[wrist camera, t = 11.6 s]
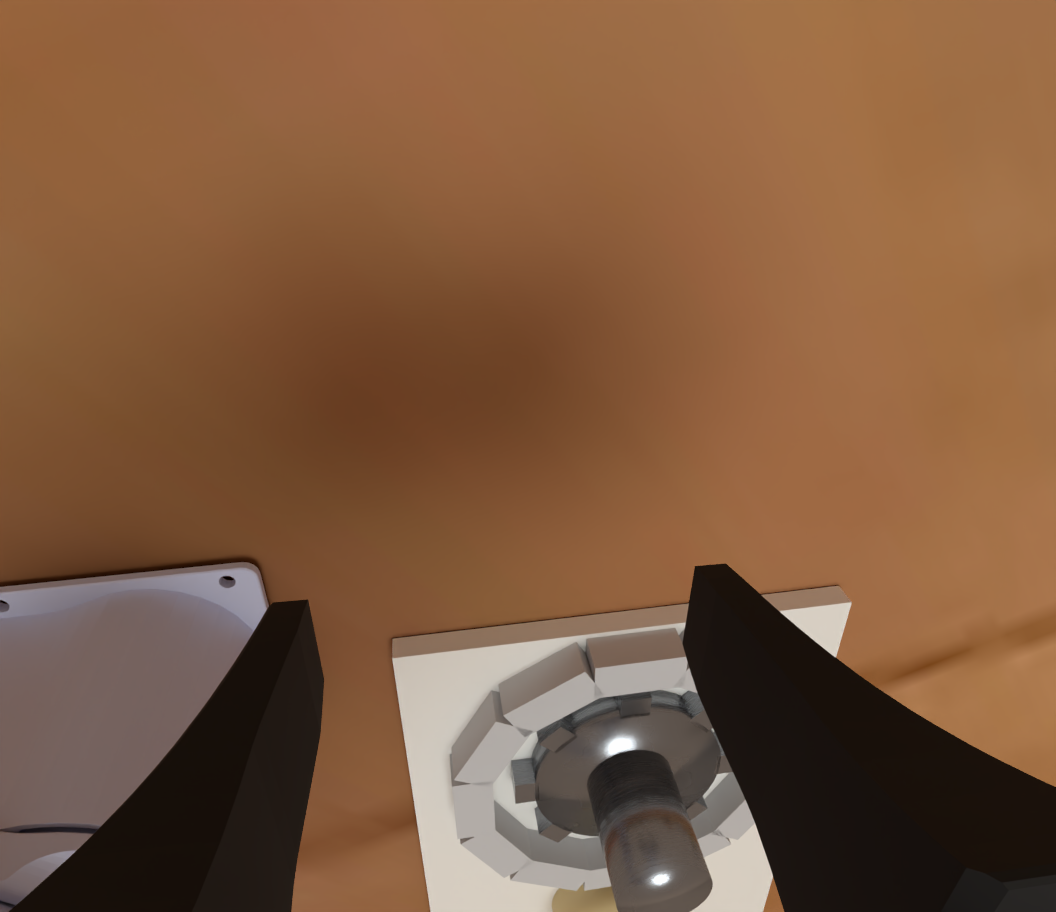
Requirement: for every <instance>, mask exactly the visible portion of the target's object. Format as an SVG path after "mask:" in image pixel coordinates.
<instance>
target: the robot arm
mask: <svg viewBox="0 0 1056 912" xmlns="http://www.w3.org/2000/svg"><path fill="white" fill-rule="evenodd" d="M223 576H230V577H232V578H234V579H235V580H226V579H224V578H223ZM0 600H3V601H5V602H7V603H8V604H4V603H1V602H0V912H291V907H292V896H293V886H294V878H295V871H296V865H297V858H298V852H299V847H300V841H301V836H302V831H303V825H304V820H305V815H306V809H307V804H308V799H309V793H310V788H311V783H312V777H313V772H314V766H315V761H316V755H317V750H318V744H319V738H320V732H321V718H322V704H323V687H324V677H323V672H322V667H321V662H320V657H319V652H318V647H317V642H316V637H315V632H314V627H313V622H312V617H311V612H310V607H309V602H308V600H298V601H287V602H275V603H272V604H271V605H270V606H269V605H268V601H267V597H266V593H265V589H264V585H263V581H262V578H261V574H260V571H259V569H258V568H257V567H256V566H255V565H254V564H251V563H248V562H237V563H228V564H218V565H208V566H199V567H189V568H179V569H170V570H160V571H150V572H141V573H131V574H121V575H111V576H102V577H92V578H82V579H73V580H63V581H53V582H44V583H34V584H24V585H15V586H5V587H0ZM682 644H683V648H684V651H685V655H686V658H687V662H688V665H689V668H690V672H691V675H692V678H693V681H694V684H695V687H696V690H697V693H698V695H699V698H700V700H701V702H702V705H703V707H704V709H705V711H706V714H707V716H708V718H709V720H710V723H711V725H712V727H713V729H714V732H715V734H716V736H717V738H718V740H719V743H720V745H721V747H722V749H723V751H724V754H725V756H726V758H727V760H728V762H729V765H730V767H731V769H732V771H733V773H734V776H735V778H736V780H737V782H738V784H739V787H740V789H741V791H742V793H743V795H744V798H745V800H746V802H747V805H748V807H749V810H750V812H751V815H752V817H753V819H754V822H755V825H756V827H757V830H758V833H759V836H760V839H761V842H762V845H763V848H764V851H765V854H766V857H767V860H768V862H769V865H770V868H771V871H772V874H773V877H774V880H775V883H776V887H777V890H778V893H779V896H780V899H781V902H782V905H783V909H784V912H1056V787H1054V786H1052V785H1050V784H1047V783H1045V782H1043V781H1041V780H1039V779H1037V778H1035V777H1033V776H1031V775H1029V774H1026V773H1024V772H1022V771H1020V770H1018V769H1016V768H1014V767H1012V766H1010V765H1008V764H1006V763H1004V762H1002V761H1000V760H998V759H996V758H994V757H992V756H990V755H988V754H986V753H985V752H983V751H981V750H979V749H977V748H975V747H973V746H971V745H969V744H968V743H966V742H964V741H962V740H961V739H959V738H957V737H955V736H954V735H952V734H950V733H948V732H947V731H945V730H943V729H941V728H940V727H938V726H936V725H934V724H933V723H931V722H929V721H928V720H926V719H924V718H923V717H921V716H919V715H918V714H916V713H914V712H913V711H911V710H910V709H908V708H907V707H905V706H904V705H902V704H901V703H899V702H898V701H896V700H895V699H893V698H891V697H890V696H888V695H887V694H885V693H884V692H882V691H881V690H879V689H878V688H876V687H875V686H873V685H872V684H871V683H869V682H868V681H866V680H865V679H864V678H862V677H861V676H859V675H858V674H857V673H855V672H854V671H853V670H851V669H850V668H849V667H847V666H846V665H845V664H843V663H842V662H841V661H839V660H838V659H837V658H835V657H834V656H833V655H832V654H830V653H829V652H828V651H826V650H825V649H824V648H823V647H821V646H820V645H819V644H818V643H816V642H815V641H814V640H813V639H811V638H810V637H809V636H808V635H807V634H805V633H804V632H803V631H802V630H801V629H799V628H798V627H797V626H796V625H795V624H794V623H792V622H791V621H790V620H789V619H788V618H787V617H785V616H784V615H783V614H782V613H781V612H780V611H778V610H777V609H776V608H775V607H774V606H773V605H772V604H771V603H769V602H768V601H767V600H766V599H765V598H764V597H763V596H762V595H760V594H759V593H758V592H757V591H756V590H755V589H754V588H753V587H752V586H750V585H749V584H748V583H747V582H746V581H745V580H744V579H743V578H742V577H740V576H739V575H738V574H737V573H736V572H735V571H734V570H732V569H731V568H730V567H729V566H728V565H727V564H716V565H704V566H695V570H694V576H693V582H692V588H691V594H690V600H689V606H688V612H687V618H686V624H685V630H684V636H683V642H682Z"/></svg>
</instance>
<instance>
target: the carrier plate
mask: <svg viewBox="0 0 1056 912" xmlns="http://www.w3.org/2000/svg"><path fill="white" fill-rule="evenodd" d="M762 596H763V597H764V598H765V599H766V600H767V601H768V602H769V603H771V604H772V605H773V606H774V607H775V608H776V609H777V610H778V611H780V612H781V613H782V614H783V615H784V616H785V617H787V618H788V619H789V620H790V621H791V622H792V623H794V624H795V625H796V626H797V627H798V628H799V629H801V630H802V631H803V632H804V633H805V634H807V635H808V636H809V637H810V638H811V639H813V640H814V641H815V642H816V643H818V644H819V645H820V646H821V647H823V648H824V649H825V650H826V651H828V652H829V653H830V654H832V655H833V656H834V657H835V658H836V655H837V652H838V648H839V645H840V641H841V638H842V634H843V631H844V627H845V624H846V620H847V617H848V613H849V610H850V607H851V603H852V602H851V601H850V599H849V598H848V597H847V596H846V594H845V593H844V592H843V591H842V589H841V588H840V587H839V586H831V587H823V588H815V589H806V590H798V591H789V592H781V593H773V594H764V595H762ZM688 606H689V603H688V604H680V605H672V606H663V607H655V608H646V609H638V610H630V611H621V612H613V613H604V614H596V615H588V616H579V617H571V618H562V619H554V620H546V621H537V622H529V623H520V624H512V625H503V626H495V627H487V628H478V629H470V630H461V631H453V632H445V633H436V634H428V635H419V636H411V637H403V638H394V639H392V660H393V667H394V673H395V680H396V687H397V693H398V700H399V706H400V713H401V720H402V726H403V733H404V739H405V746H406V752H407V759H408V766H409V772H410V779H411V785H412V792H413V799H414V805H415V812H416V818H417V825H418V832H419V838H420V845H421V851H422V858H423V864H424V871H425V878H426V884H427V891H428V897H429V904H430V911H431V912H618V910H617V907H616V903H615V899H614V895H613V891H612V887H611V883H610V879H609V875H608V871H607V867H606V863H605V858H604V854H603V850H602V846H601V842H600V838H599V837H598V836H586V835H579V834H575V833H570V834H569V835H568V836H566V837H565V838H564V839H562V840H561V841H560V842H555V841H553V840H551V839H549V838H546V837H544V836H542V835H540V834H539V832H538V826H537V820H536V815H535V808H536V807H537V803H536V801H532V802H525V803H519V804H515V797H514V790H513V784H512V772H511V760H517V759H524V758H531V756H532V753H533V750H534V748H535V746H536V743H537V742H538V737H537V732H536V731H538V730H540V729H542V728H544V727H546V726H548V725H550V724H552V723H553V722H555V721H557V720H559V719H561V718H563V717H565V716H567V715H569V714H570V713H572V712H574V711H576V710H578V709H580V708H582V707H584V706H586V705H587V704H589V703H591V702H593V701H595V700H597V699H599V698H603V697H611V696H618V695H626V694H633V693H641V692H648V691H656V690H664V691H668V692H673V693H676V694H678V695H681V696H682V695H683V694H684V693H686V692H687V691H688V690H689V691H692V692H695V693H697V690H696V687H695V684H694V681H693V678H692V675H691V672H690V668H689V665H688V662H687V658H686V655H685V651H684V648H683V644H682V642H683V636H684V630H685V624H686V618H687V612H688ZM712 731H713V732H714V729H713V728H712ZM703 798H704V800H705V803H706V805H707V809H706V810H705V811H703V812H702V813H700V814H699V815H697V816H696V817H695V818H693V819H692V820H690V821H691V824H692V827H693V830H694V832H695V835H696V838H697V840H698V843H699V846H700V849H701V851H702V854H703V857H704V859H705V862H706V865H707V868H708V870H709V873H710V876H711V878H712V882H713V887H712V890H711V893H710V894H709V896H708V897H707V899H706V900H705V901H704V902H703V903H702V904H700V905H699V906H698V907H696V908H695V909H694V910H692V911H690V912H763V909H764V906H765V902H766V899H767V895H768V892H769V888H770V885H771V881H772V878H773V874H772V871H771V868H770V865H769V862H768V860H767V857H766V854H765V851H764V848H763V845H762V842H761V839H760V836H759V833H758V830H757V827H756V825H755V822H754V819H753V817H752V815H751V812H750V810H749V807H748V805H747V802H746V800H745V798H744V795H743V793H742V791H741V789H740V787H739V784H738V782H737V780H736V778H735V776H734V773H733V772H729V773H722V774H717V776H716V778H715V780H714V782H713V783H712V785H711V786H710V788H709V789H708V790H707V791H706V793H705V794H704V795H703Z"/></svg>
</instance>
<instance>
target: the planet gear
mask: <svg viewBox="0 0 1056 912" xmlns="http://www.w3.org/2000/svg"><path fill="white" fill-rule="evenodd" d="M712 728H713V727H712V725H711V723H710V720H709V718H708V716H707V714H706V711H705V709H704V707H703V705H702V702H701V700H700V698H699V695H698V693H695V692H692V691H689V690H688V691H687V692H686V693H684V694H683V695H682V696H681V695H678V694H676V693H673V692H668V691H664V690H656V691H648V692H641V693H633V694H626V695H618V696H611V697H603V698H599V699H597V700H595V701H593V702H591V703H589V704H587V705H586V706H584V707H582V708H580V709H578V710H576V711H574V712H572V713H570V714H569V715H567V716H565V717H563V718H561V719H559V720H557V721H555V722H553V723H552V724H550V725H548V726H546V727H544V728H542V729H540V730H538V731H536V732H537V737H538V742H537V743H536V746H535V748H534V750H533V753H532V756H531V758H524V759H517V760H511V772H512V784H513V790H514V797H515V804H519V803H525V802H532V801H536V803H537V807H536V808H535V815H536V820H537V826H538V832H539V834H540V835H542V836H544V837H546V838H549V839H551V840H553V841H555V842H560V841H561V840H562V839H564V838H565V837H566V836H568V835H569V834H570V833H575V834H579V835H586V836H598V837H599V838H600V842H601V846H602V850H603V854H604V858H605V863H606V867H607V871H608V875H609V879H610V883H611V887H612V891H613V895H614V899H615V903H616V907H617V910H618V912H690V911H692V910H694V909H695V908H696V907H698V906H699V905H700V904H702V903H703V902H704V901H705V900H706V899H707V897H708V896H709V894H710V893H711V890H712V887H713V882H712V878H711V876H710V873H709V870H708V868H707V865H706V862H705V859H704V857H703V854H702V851H701V849H700V846H699V843H698V840H697V838H696V835H695V832H694V830H693V827H692V824H691V821H690V820H692V819H693V818H695V817H696V816H697V815H699V814H700V813H702V812H703V811H705V810H706V809H707V805H706V803H705V800H704V798H703V795H704V794H705V793H706V791H707V790H708V789H709V788H710V786H711V785H712V783H713V782H714V780H715V778H716V776H717V774H722V773H729V772H733V771H732V769H731V767H730V765H729V762H728V760H727V758H726V756H725V754H724V751H723V749H722V747H721V745H720V743H719V740H718V738H717V736H716V734H715V732H713V731H712Z"/></svg>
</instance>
